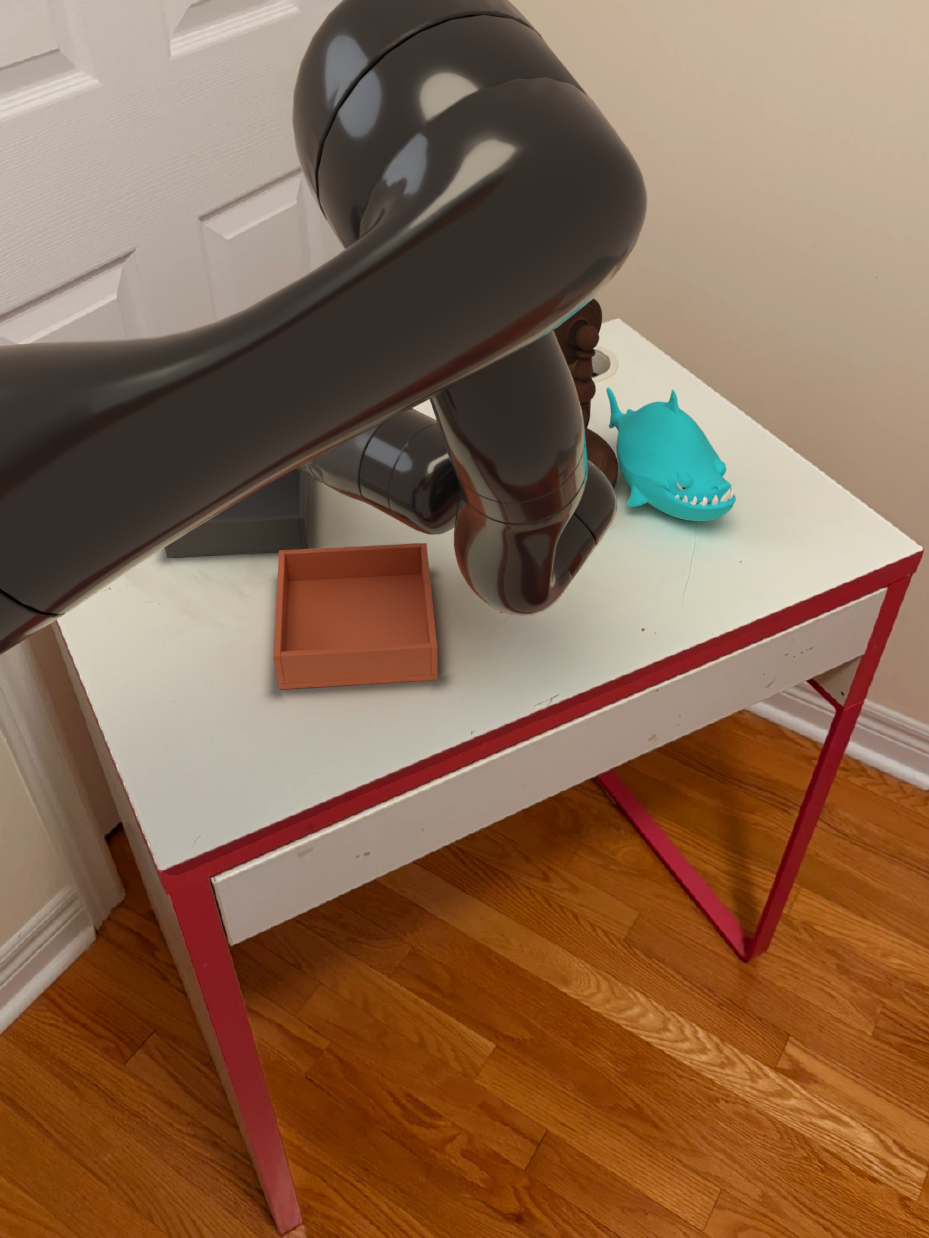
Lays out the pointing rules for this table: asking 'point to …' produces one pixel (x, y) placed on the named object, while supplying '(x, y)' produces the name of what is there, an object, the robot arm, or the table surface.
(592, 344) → the wooden thread spool stand
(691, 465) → the toy shark
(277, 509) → the grey bin
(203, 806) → the table surface
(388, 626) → the terracotta bin
